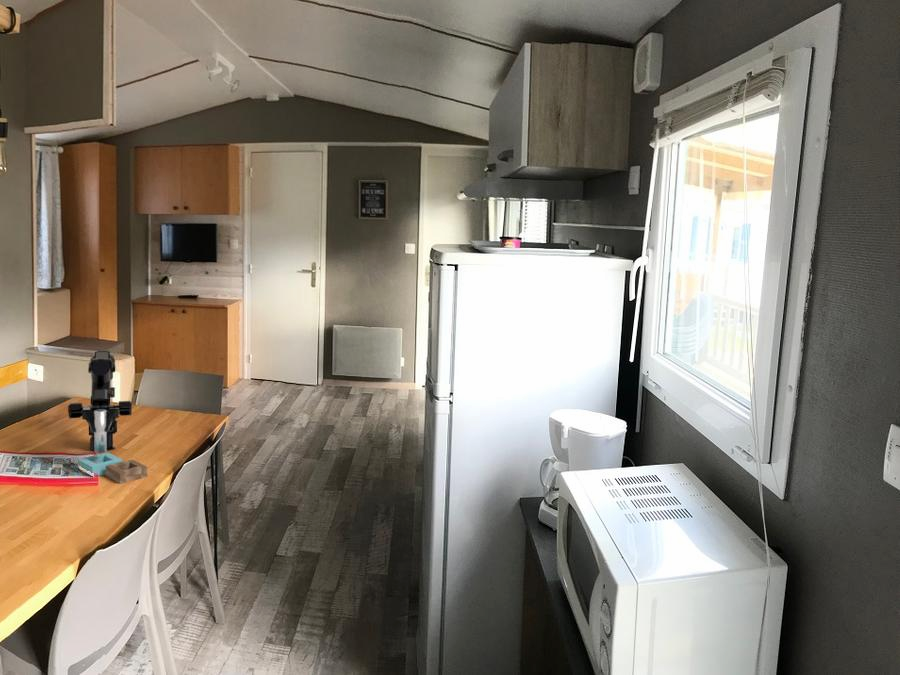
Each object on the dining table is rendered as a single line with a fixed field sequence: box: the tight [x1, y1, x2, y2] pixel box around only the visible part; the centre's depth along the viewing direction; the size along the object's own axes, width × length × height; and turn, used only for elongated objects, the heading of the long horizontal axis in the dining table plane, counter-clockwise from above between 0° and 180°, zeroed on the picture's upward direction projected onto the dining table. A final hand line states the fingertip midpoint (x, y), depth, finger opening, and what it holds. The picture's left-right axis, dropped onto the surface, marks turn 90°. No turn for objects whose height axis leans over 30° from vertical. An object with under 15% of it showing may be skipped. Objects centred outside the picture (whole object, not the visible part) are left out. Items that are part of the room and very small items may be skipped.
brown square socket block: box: [105, 458, 148, 484], centre depth 215 cm, size 9×9×4 cm
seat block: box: [77, 452, 124, 477], centre depth 219 cm, size 10×10×4 cm
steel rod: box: [93, 409, 108, 454], centre depth 217 cm, size 4×4×14 cm
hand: (100, 432), depth 216 cm, fingers closed on steel rod, 4 cm apart
